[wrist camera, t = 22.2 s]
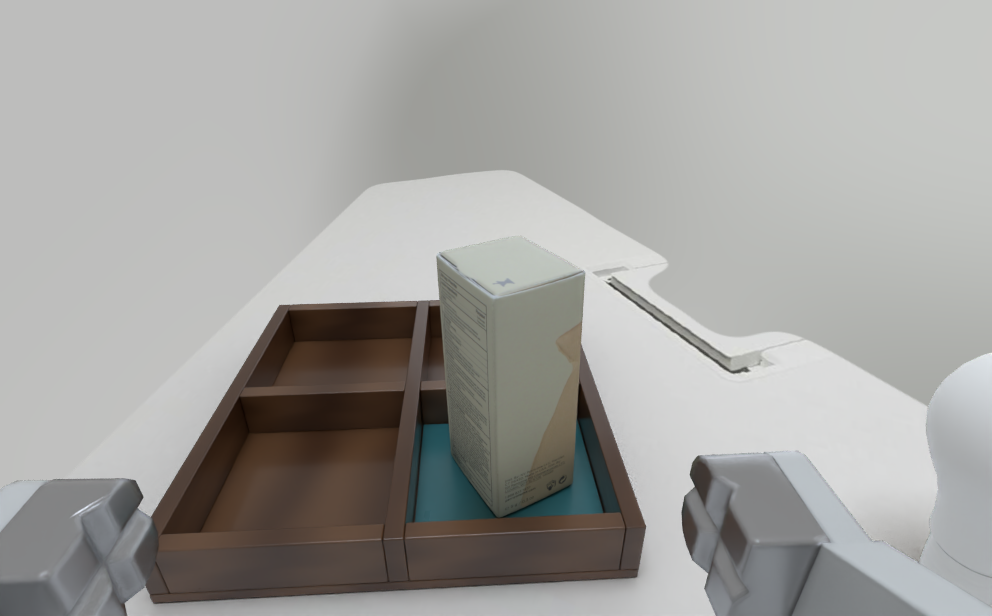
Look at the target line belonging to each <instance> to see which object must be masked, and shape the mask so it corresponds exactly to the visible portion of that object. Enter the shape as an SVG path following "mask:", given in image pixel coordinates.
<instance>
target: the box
mask: <svg viewBox="0 0 992 616" xmlns="http://www.w3.org/2000/svg"><path fill="white" fill-rule="evenodd" d="M437 272H438V286H439V299H440V312H441V326H442V339H443V353H444V367H445V381H446V393H447V406H448V419H449V433H450V446H451V455H452V457H453V458H454V460H455V461H456V463H457V464H458V466H459V467H460V469H461V470H462V472H463V473H464V475H465V476H466V477H467V479H468V480H469V481H470V483H471V484H472V485H473V487H474V488H475V489H476V491H477V492H478V493H479V495H480V496H481V498H482V499H483V500H484V501H485V503H486V504H487V505H488V506H489V508H490V509H491V510H492V512H493V513H494V514H495V515H496V517H498V518H500V517H503V516H505V515H508V514H510V513H512V512H515V511H517V510H519V509H521V508H524V507H526V506H528V505H530V504H532V503H534V502H537V501H539V500H541V499H543V498H545V497H547V496H549V495H551V494H553V493H555V492H557V491H559V490H561V489H563V488H565V487H567V486H569V485H571V484H572V483H573V471H574V455H575V438H576V419H577V403H578V386H579V369H580V350H581V333H582V317H583V300H584V282H585V271H584V270H582V269H580V268H578V267H577V266H575V265H573V264H571V263H570V262H568V261H566V260H564V259H563V258H561V257H559V256H557V255H555V254H554V253H552V252H550V251H548V250H546V249H544V248H543V247H541V246H539V245H537V244H535V243H533V242H531V241H530V240H528V239H526V238H524V237H522V236H514V237H508V238H503V239H498V240H493V241H489V242H484V243H479V244H475V245H469V246H465V247H460V248H455V249H451V250H446V251H443V252H439V253H438V254H437Z"/></svg>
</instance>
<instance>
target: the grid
mask: <svg viewBox="0 0 992 616" xmlns="http://www.w3.org/2000/svg"><path fill="white" fill-rule="evenodd" d="M151 518H152V519H153V521H154V523H155V526H156V528H157V531H158V541H159V549H158V553H157V557H156V562H155V566H154V569H153V571H152V573H151V575H150V577H149V579H148V581H147V583H146V585H145V586H146V588H147V590H148V592H149V594H150V598H151V600H152V602H153V603H159V602H177V601H196V600H215V599H233V598H252V597H270V596H289V595H308V594H326V593H345V592H363V591H382V590H401V589H419V588H438V587H456V586H475V585H494V584H512V583H531V582H549V581H568V580H587V579H605V578H624V577H637V575H638V568H639V564H640V558H641V553H642V547H643V541H644V536H645V530H646V525H645V522H644V520H643V517H642V514H641V511H640V508H639V505H638V503H637V500H636V497H635V494H634V491H633V489H632V486H631V483H630V480H629V477H628V474H627V472H626V469H625V466H624V463H623V460H622V458H621V455H620V452H619V449H618V446H617V444H616V441H615V438H614V435H613V432H612V429H611V427H610V424H609V421H608V418H607V415H606V413H605V410H604V407H603V404H602V401H601V399H600V396H599V393H598V390H597V387H596V384H595V382H594V379H593V376H592V373H591V370H590V368H589V365H588V362H587V359H586V356H585V353H584V351H583V348H582V345H581V350H580V369H579V386H578V403H577V419H576V438H575V455H574V471H573V483H572V484H571V485H569V486H567V487H565V488H563V489H561V490H559V491H557V492H555V493H553V494H551V495H549V496H547V497H545V498H543V499H541V500H539V501H537V502H534V503H532V504H530V505H528V506H526V507H524V508H521V509H519V510H517V511H515V512H512V513H510V514H508V515H505V516H503V517H500V518H498V517H496V515H495V514H494V513H493V512H492V510H491V509H490V508H489V506H488V505H487V504H486V503H485V501H484V500H483V499H482V498H481V496H480V495H479V493H478V492H477V491H476V489H475V488H474V487H473V485H472V484H471V483H470V481H469V480H468V479H467V477H466V476H465V475H464V473H463V472H462V470H461V469H460V467H459V466H458V464H457V463H456V461H455V460H454V458H453V457H452V455H451V446H450V433H449V419H448V406H447V393H446V381H445V367H444V353H443V339H442V326H441V312H440V300H430V301H418V302H417V301H398V302H364V303H331V304H297V305H279V307H278V308H277V310H276V312H275V313H274V315H273V317H272V318H271V320H270V321H269V323H268V325H267V326H266V328H265V330H264V331H263V333H262V335H261V336H260V338H259V340H258V341H257V343H256V345H255V346H254V348H253V350H252V351H251V353H250V354H249V356H248V358H247V359H246V361H245V363H244V364H243V366H242V368H241V369H240V371H239V373H238V374H237V376H236V378H235V379H234V381H233V383H232V384H231V386H230V387H229V389H228V391H227V392H226V394H225V396H224V397H223V399H222V401H221V402H220V404H219V406H218V407H217V409H216V411H215V412H214V414H213V416H212V417H211V419H210V420H209V422H208V424H207V425H206V427H205V429H204V430H203V432H202V434H201V435H200V437H199V439H198V440H197V442H196V444H195V445H194V447H193V448H192V450H191V452H190V453H189V455H188V457H187V458H186V460H185V462H184V463H183V465H182V467H181V468H180V470H179V472H178V473H177V475H176V477H175V478H174V480H173V481H172V483H171V485H170V486H169V488H168V490H167V491H166V493H165V495H164V496H163V498H162V500H161V501H160V503H159V505H158V506H157V508H156V510H155V511H154V513H153V514H152V516H151Z"/></svg>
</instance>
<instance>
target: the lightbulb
mask: <svg viewBox="0 0 992 616" xmlns="http://www.w3.org/2000/svg"><path fill="white" fill-rule="evenodd" d="M926 436H927V440H928V445H929V450H930V455H931V458H932V461H933V465H934V468H935V471H936V474H937V485H938V491H937V496H936V502H935V507H934V509H933V511H932V514H931V516H930V520H929V526H930V531H931V532H930V535H929V538H928V539H927V542H926V545H925V546H924V549H923V553H922V555H921V558H920V564H922V565H924V566H925V567H927V568H928V569H930V570H932V571H933V572H935V573H937V574H938V575H940V576H942V577H943V578H945V579H947V580H948V581H950V582H951V583H953V584H955V585H956V586H958V587H960V588H961V589H963V590H965V591H966V592H968V593H970V594H971V595H973V596H974V597H976V598H978V599H979V600H981V601H983V602H984V603H986V604H988V605H989V606H992V353H988V354H986V355H982V356H979V357H977V358H975V359H973V360H971V361H969V362H967V363H965V364H963V365H962V366H960V367H959V368H958V369H957V370H955V371H954V372H953V373H951V375H949V376H948V377H947V378H946V379H945V380H944V381H943V382H942V383H941V384H940V386H939V387H938V388H937V389H936V391H935V394H934V395H933V397H932V400H931V402H930V404H929V406H928V410H927V418H926Z"/></svg>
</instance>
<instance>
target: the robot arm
mask: <svg viewBox="0 0 992 616" xmlns="http://www.w3.org/2000/svg"><path fill="white" fill-rule="evenodd" d="M690 477H691V479H692V481H693V483H694V485H695V487H694V488H693V489H692V490H691V491H690V492H689V493H688V494H687V495H685V497H684V502H683V507H682V526H683V533H684V537H685V541H686V545H687V548H688V550H689V553H690V555H691V558H692V560H693V561H694V562H695V563H696V564H697V565H699V566H700V567H701V568H702V569H704V570H705V571H706V572H707V573H708V577H707V581H706V584H705V588H704V589H705V591H706V594H707V596H708V598H709V601H710V603H711V605H712V608H713V610H714V612H715V615H716V616H992V607H991V606H989V605H988V604H986V603H984V602H983V601H981V600H979V599H978V598H976V597H974V596H973V595H971V594H970V593H968V592H966V591H965V590H963V589H961V588H960V587H958V586H956V585H955V584H953V583H951V582H950V581H948V580H947V579H945V578H943V577H942V576H940V575H938V574H937V573H935V572H933V571H932V570H930V569H928V568H927V567H925V566H924V565H922V564H920V563H919V562H917V561H915V560H914V559H912V558H910V557H909V556H907V555H905V554H904V553H902V552H901V551H899V550H897V549H896V548H894V547H892V546H891V545H889V544H887V543H886V542H884V541H872V540H871V539H870V538H869V536H868V535H867V534H866V532H865V531H864V530H863V528H862V527H861V526H860V525H859V523H858V522H857V521H856V519H855V518H854V517H853V516H852V514H851V513H850V512H849V510H848V509H847V508H846V507H845V505H844V504H843V503H842V501H841V500H840V499H839V498H838V496H837V495H836V494H835V492H834V491H833V490H832V488H831V487H830V486H829V485H828V483H827V482H826V481H825V479H824V478H823V477H822V476H821V474H820V473H819V472H818V470H817V469H816V468H815V467H814V465H813V464H812V463H811V461H810V460H809V459H808V458H807V456H806V455H804V454H802V453H801V452H799V451H780V452H764V453H741V454H721V455H700V456H697V457H696V459H695V460H694V461H693V463H692V467H691V471H690ZM142 499H143V495H142V493H141V491H140V489H139V487H138V485H137V483H136V481H135V480H131V479H125V478H115V479H54V480H34V481H33V480H32V481H31V480H28V481H15V482H13V483H11V484H9V485H6V486H4V487H2V488H1V489H0V616H127V613H126V608H125V604H124V603H125V602H126V601H128V600H129V599H130V598H131V597H133V596H134V595H135V594H136V593H138V592H139V591H140V590H141V589H143V588H144V587H145V585H146V583H147V581H148V579H149V577H150V575H151V573H152V571H153V569H154V566H155V562H156V557H157V553H158V549H159V541H158V531H157V528H156V526H155V523H154V521H153V519H152V518H151V517H149V516H148V515H146V514H145V513H143V512H142V511H140V510H139V509H137V508H138V506H139V504H140V502H141V501H142Z"/></svg>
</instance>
